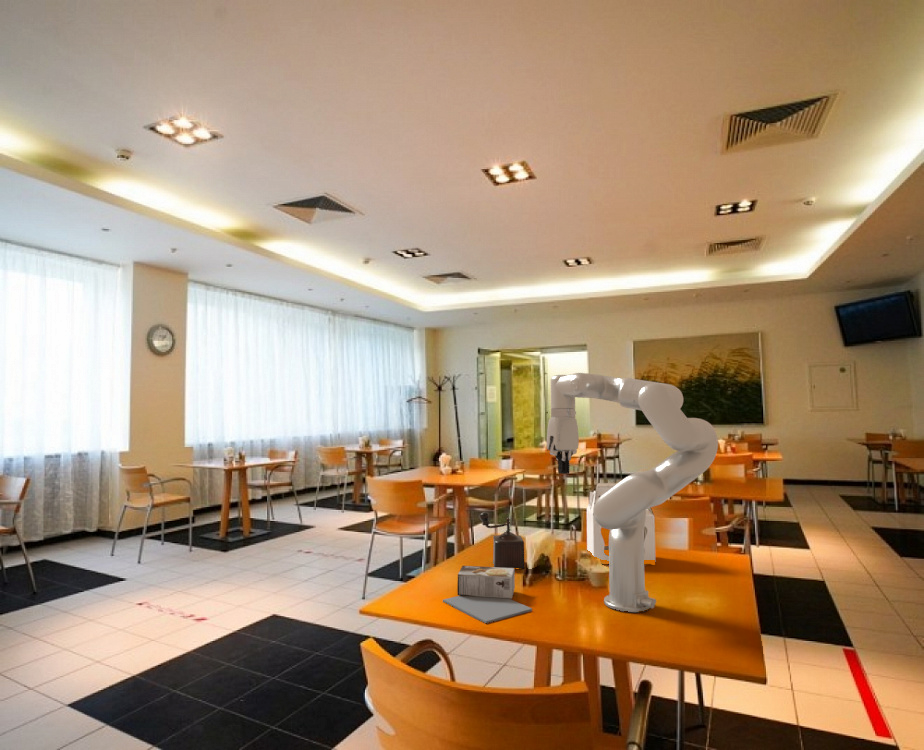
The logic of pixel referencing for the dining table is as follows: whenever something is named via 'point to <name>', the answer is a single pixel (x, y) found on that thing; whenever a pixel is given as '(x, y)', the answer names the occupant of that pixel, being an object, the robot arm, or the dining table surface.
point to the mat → (487, 607)
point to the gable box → (594, 529)
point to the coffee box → (486, 582)
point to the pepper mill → (506, 546)
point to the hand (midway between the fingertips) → (563, 473)
